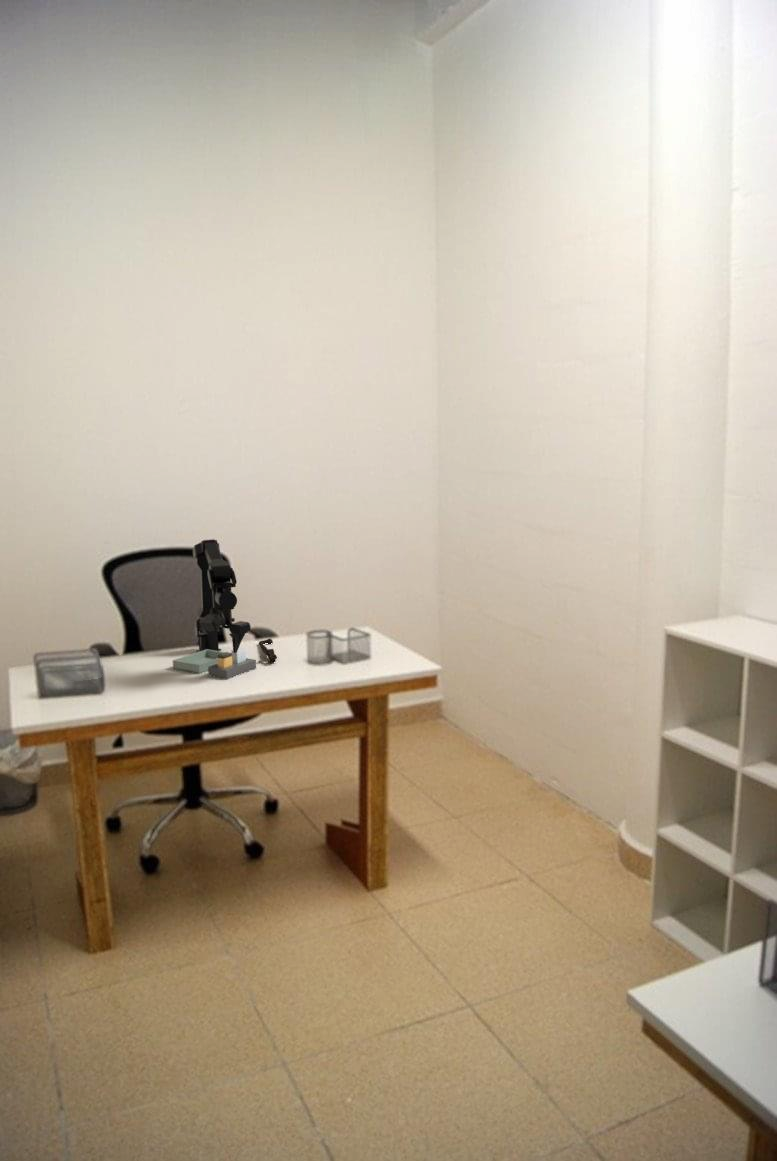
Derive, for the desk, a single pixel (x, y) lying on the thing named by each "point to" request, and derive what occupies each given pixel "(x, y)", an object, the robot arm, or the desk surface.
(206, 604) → the robot arm
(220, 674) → the fuse block
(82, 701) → the desk surface
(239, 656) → the white rectangular block
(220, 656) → the tan and brown block
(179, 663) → the parts tray
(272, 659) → the wrench
